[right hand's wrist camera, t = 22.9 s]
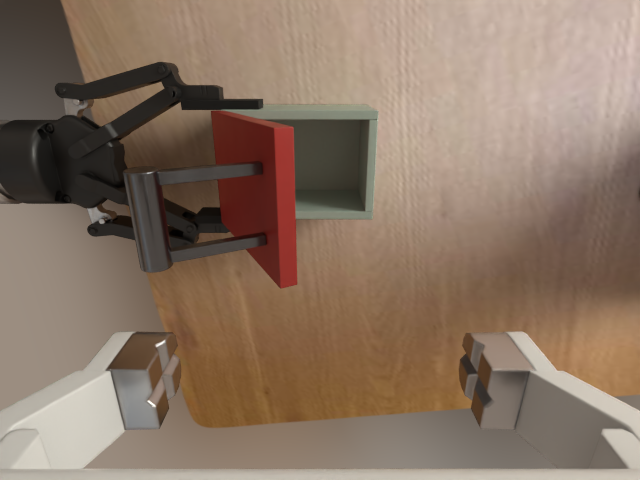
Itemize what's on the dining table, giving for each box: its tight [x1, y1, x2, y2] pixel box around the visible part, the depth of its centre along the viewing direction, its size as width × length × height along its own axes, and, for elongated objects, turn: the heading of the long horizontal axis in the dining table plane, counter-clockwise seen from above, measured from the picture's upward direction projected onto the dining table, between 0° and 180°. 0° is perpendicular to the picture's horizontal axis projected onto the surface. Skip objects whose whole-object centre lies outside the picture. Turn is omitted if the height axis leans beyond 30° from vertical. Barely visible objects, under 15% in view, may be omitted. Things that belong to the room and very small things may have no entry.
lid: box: [123, 111, 297, 288], centre depth 27 cm, size 14×10×8 cm
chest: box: [220, 104, 378, 219], centre depth 38 cm, size 13×10×8 cm
